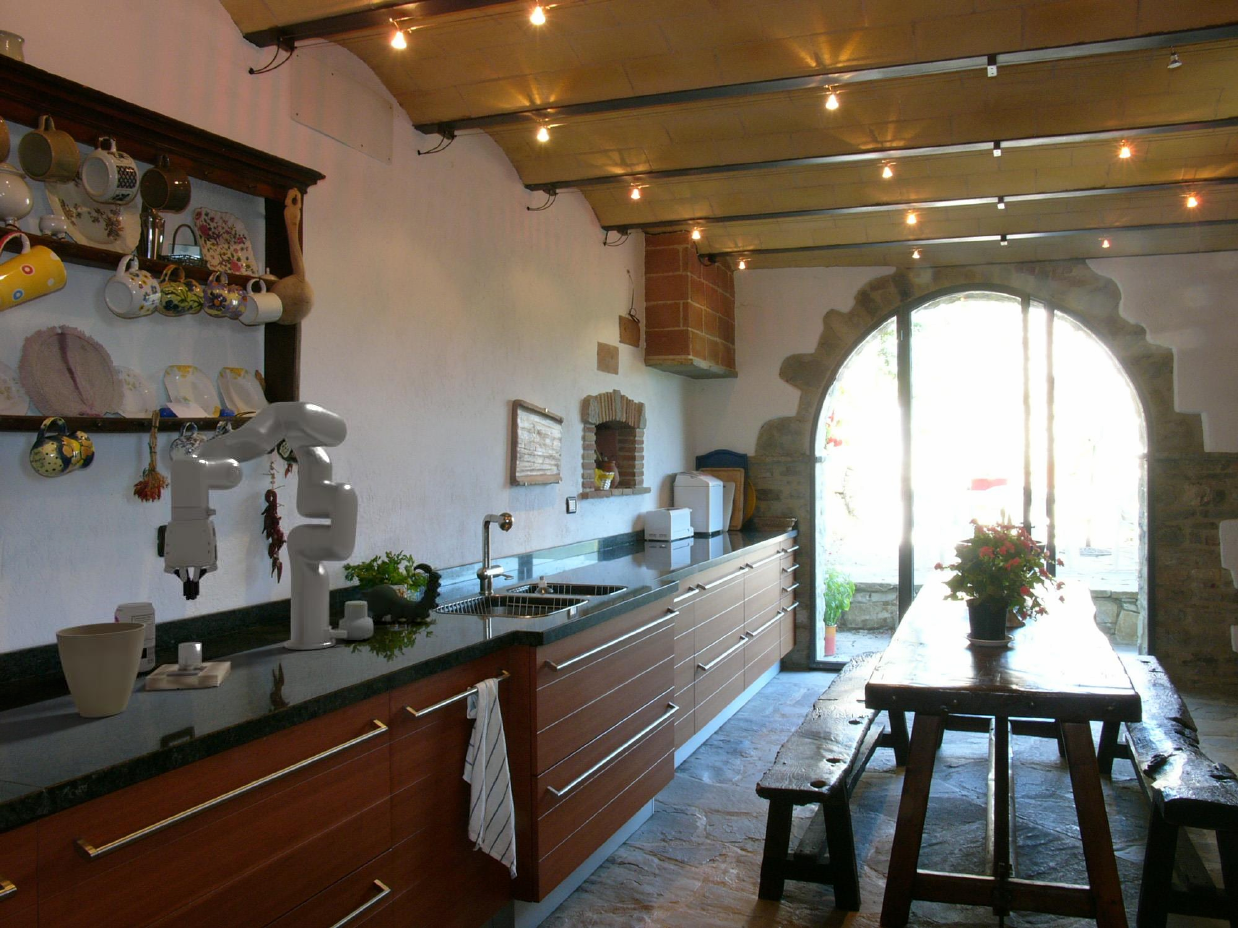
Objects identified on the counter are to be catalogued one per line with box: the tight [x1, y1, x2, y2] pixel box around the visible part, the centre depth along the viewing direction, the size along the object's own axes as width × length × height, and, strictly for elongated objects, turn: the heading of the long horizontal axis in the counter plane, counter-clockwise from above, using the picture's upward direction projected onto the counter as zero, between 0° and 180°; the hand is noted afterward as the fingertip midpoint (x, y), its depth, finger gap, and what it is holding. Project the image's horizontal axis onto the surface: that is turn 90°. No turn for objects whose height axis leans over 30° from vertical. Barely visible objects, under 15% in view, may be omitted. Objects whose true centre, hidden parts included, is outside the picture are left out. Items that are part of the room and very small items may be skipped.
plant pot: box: [55, 621, 146, 718], centre depth 177 cm, size 15×15×16 cm
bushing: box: [177, 641, 203, 672], centre depth 203 cm, size 5×5×8 cm
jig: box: [145, 661, 232, 691], centre depth 203 cm, size 14×14×3 cm
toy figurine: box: [358, 562, 442, 624], centre depth 283 cm, size 9×19×25 cm
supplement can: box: [114, 601, 156, 674], centre depth 215 cm, size 8×8×15 cm
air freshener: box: [338, 600, 374, 641], centre depth 254 cm, size 11×8×10 cm
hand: (191, 599), depth 204 cm, fingers closed
